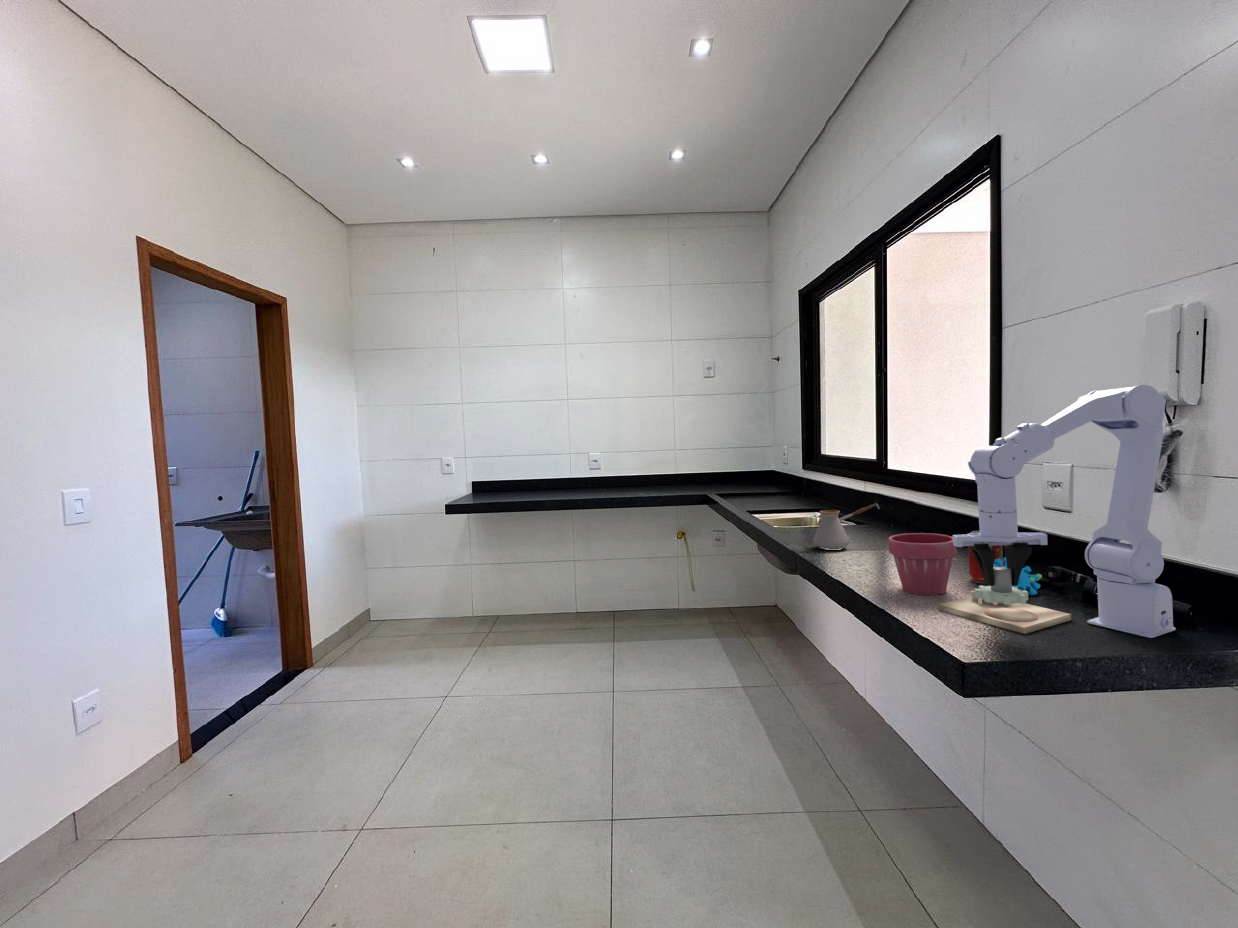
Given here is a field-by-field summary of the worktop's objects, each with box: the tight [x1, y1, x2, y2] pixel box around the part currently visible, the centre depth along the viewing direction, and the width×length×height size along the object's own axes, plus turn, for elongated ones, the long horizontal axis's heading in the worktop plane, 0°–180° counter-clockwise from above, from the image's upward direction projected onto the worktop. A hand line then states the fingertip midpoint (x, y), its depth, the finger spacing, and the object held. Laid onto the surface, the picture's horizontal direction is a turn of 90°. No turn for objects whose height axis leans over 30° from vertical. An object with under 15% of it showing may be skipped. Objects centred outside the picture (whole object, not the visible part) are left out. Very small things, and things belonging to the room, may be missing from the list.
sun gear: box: [970, 587, 1009, 607], centre depth 113 cm, size 7×7×3 cm
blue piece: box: [993, 556, 1043, 596], centre depth 122 cm, size 11×6×10 cm
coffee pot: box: [813, 502, 881, 549], centre depth 178 cm, size 21×12×15 cm, turn 78°
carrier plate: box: [938, 595, 1072, 635], centre depth 108 cm, size 17×14×1 cm
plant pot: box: [888, 532, 958, 596], centre depth 127 cm, size 14×14×13 cm
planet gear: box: [976, 567, 1029, 605], centre depth 97 cm, size 8×8×6 cm
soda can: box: [967, 530, 1004, 585], centre depth 131 cm, size 7×7×12 cm
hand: (1001, 584), depth 97 cm, fingers closed on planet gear, 3 cm apart
